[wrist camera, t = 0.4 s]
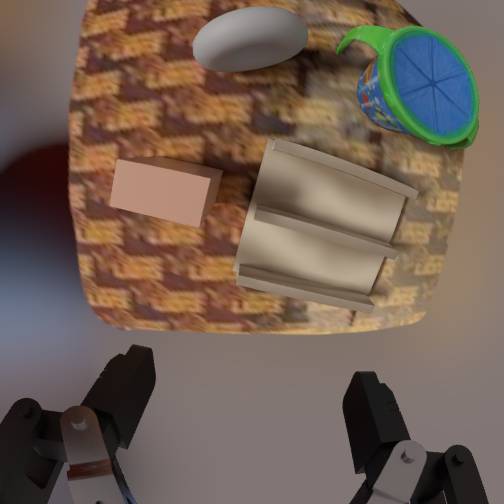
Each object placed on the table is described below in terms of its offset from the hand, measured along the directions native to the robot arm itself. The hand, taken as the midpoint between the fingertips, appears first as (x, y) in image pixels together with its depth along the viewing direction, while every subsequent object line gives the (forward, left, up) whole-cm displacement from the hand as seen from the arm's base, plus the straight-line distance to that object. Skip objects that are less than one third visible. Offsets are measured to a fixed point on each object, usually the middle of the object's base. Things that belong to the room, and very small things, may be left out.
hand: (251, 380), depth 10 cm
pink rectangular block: (-4, -8, -21) cm, 23 cm away
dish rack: (-3, +7, -21) cm, 22 cm away
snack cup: (-19, +10, -21) cm, 30 cm away
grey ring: (-18, -5, -21) cm, 28 cm away
